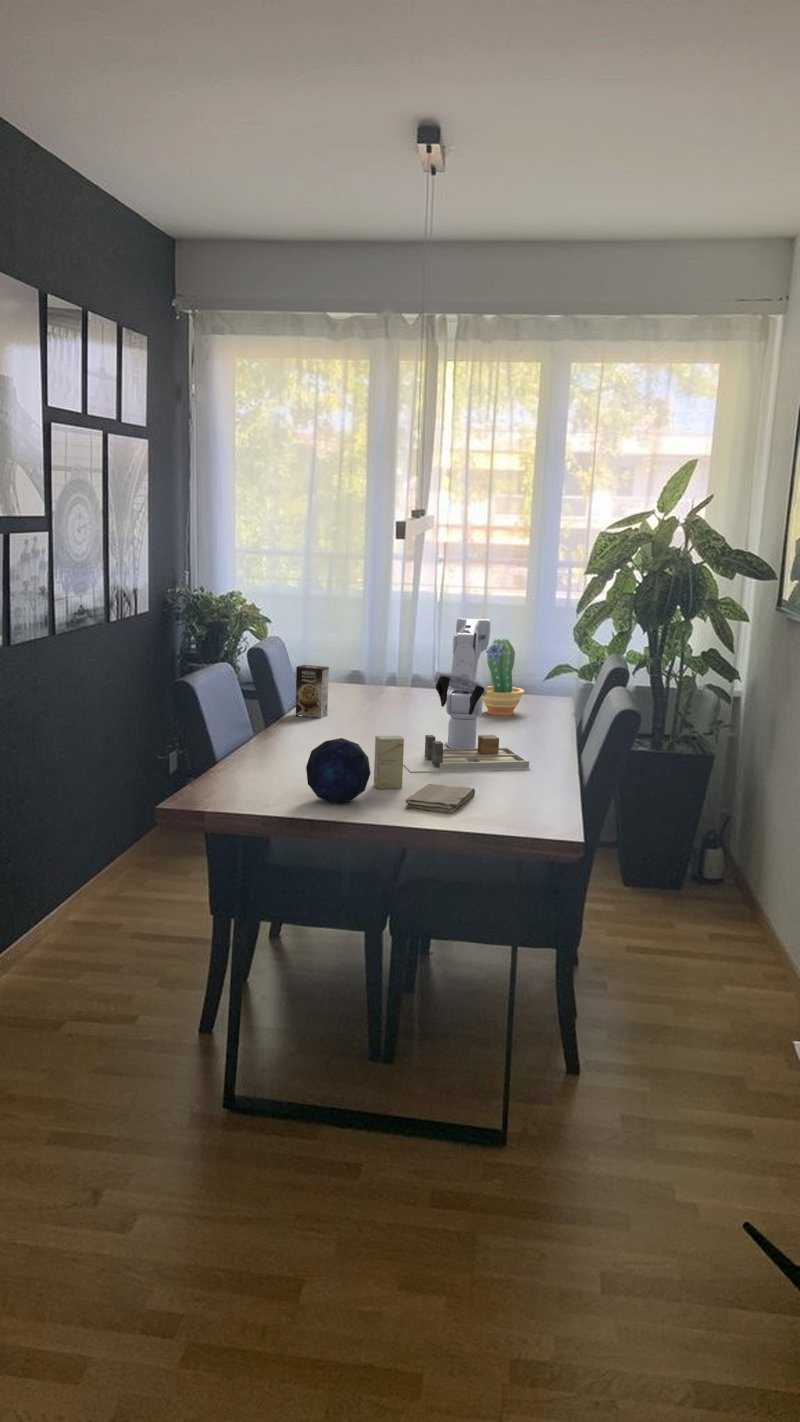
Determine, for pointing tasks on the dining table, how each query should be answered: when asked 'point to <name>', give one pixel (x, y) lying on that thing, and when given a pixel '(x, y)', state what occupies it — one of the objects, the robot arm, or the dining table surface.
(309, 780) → the decorative orb
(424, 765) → the lane board
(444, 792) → the washcloth
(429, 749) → the strip
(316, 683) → the coffee box
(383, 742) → the skincare box
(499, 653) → the potted cactus
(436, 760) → the broken strip
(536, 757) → the dining table surface
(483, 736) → the walnut cube
